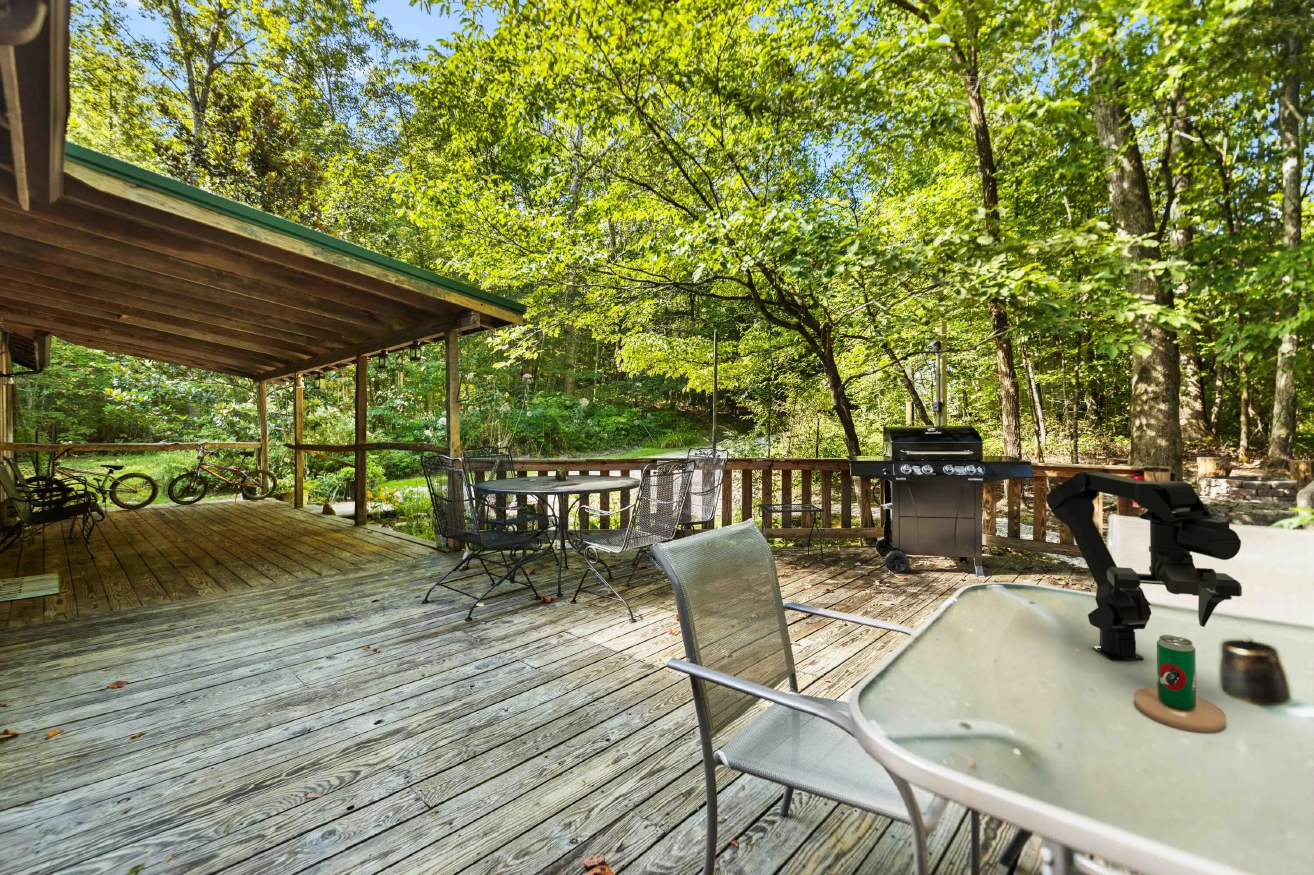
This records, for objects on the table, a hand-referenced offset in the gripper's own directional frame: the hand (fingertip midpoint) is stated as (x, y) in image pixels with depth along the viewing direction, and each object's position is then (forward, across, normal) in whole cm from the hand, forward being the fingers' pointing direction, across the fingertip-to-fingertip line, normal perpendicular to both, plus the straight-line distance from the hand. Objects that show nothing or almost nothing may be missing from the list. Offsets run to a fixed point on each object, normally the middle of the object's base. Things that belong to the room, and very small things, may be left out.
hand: (1170, 623), depth 108 cm
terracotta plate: (+12, -3, -13) cm, 18 cm away
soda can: (+11, -3, -13) cm, 17 cm away
